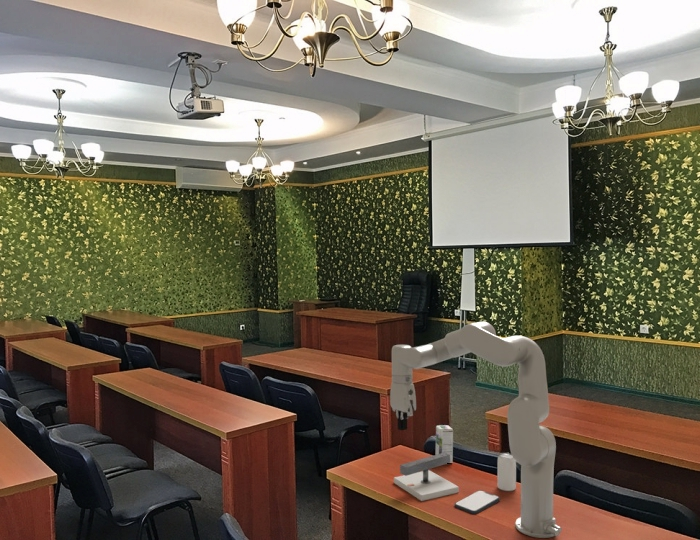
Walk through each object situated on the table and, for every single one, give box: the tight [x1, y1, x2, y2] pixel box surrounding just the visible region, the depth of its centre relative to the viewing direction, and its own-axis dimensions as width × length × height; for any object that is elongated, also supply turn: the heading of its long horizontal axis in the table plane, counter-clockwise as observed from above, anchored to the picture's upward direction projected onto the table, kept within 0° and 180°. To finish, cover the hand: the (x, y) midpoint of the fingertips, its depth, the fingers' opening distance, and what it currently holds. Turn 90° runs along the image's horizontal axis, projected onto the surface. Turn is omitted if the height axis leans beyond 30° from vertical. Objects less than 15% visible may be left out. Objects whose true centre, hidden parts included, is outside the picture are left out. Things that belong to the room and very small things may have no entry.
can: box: [497, 452, 517, 492], centre depth 206 cm, size 6×6×12 cm
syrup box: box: [435, 424, 454, 464], centre depth 233 cm, size 6×6×14 cm
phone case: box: [454, 490, 501, 515], centre depth 193 cm, size 9×2×16 cm
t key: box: [399, 453, 450, 483], centre depth 206 cm, size 22×3×8 cm, turn 126°
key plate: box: [393, 469, 460, 502], centre depth 206 cm, size 18×16×2 cm
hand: (402, 429), depth 206 cm, fingers closed
